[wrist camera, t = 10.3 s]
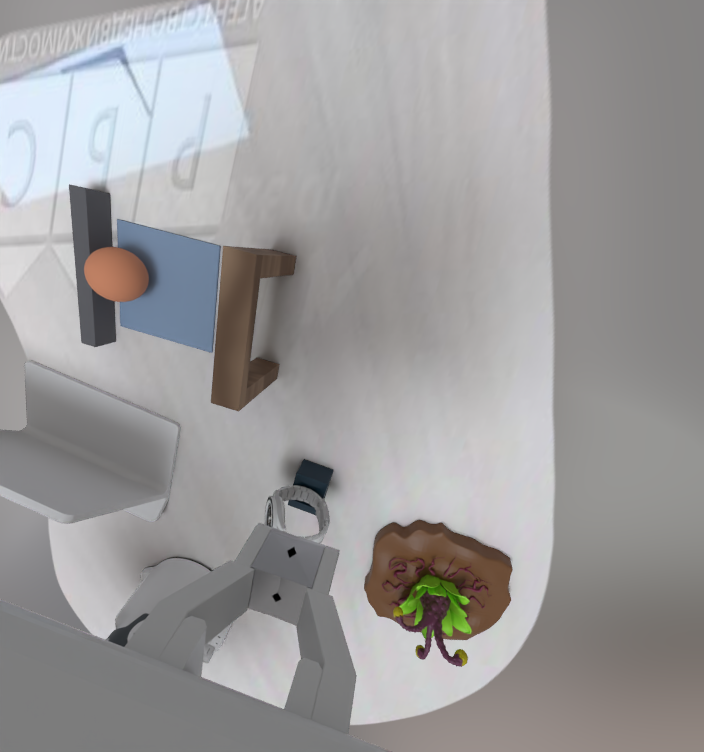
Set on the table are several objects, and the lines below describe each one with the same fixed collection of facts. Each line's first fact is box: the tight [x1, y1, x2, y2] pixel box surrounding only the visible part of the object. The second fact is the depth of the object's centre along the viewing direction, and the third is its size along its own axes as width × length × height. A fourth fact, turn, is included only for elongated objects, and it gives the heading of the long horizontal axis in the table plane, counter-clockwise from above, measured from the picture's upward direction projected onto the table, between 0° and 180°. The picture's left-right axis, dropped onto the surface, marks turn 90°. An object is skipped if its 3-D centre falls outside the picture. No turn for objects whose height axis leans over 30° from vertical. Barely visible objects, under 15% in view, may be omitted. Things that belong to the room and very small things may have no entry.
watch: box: [265, 459, 333, 543], centre depth 41 cm, size 6×8×11 cm
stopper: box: [69, 185, 116, 347], centre depth 39 cm, size 18×2×3 cm, turn 167°
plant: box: [364, 520, 512, 667], centre depth 43 cm, size 20×20×11 cm
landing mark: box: [117, 219, 220, 353], centre depth 40 cm, size 13×13×1 cm
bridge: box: [211, 246, 296, 411], centre depth 34 cm, size 3×15×10 cm, turn 167°
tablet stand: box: [0, 361, 181, 524], centre depth 43 cm, size 18×25×17 cm
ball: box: [84, 247, 149, 302], centre depth 37 cm, size 6×6×6 cm
